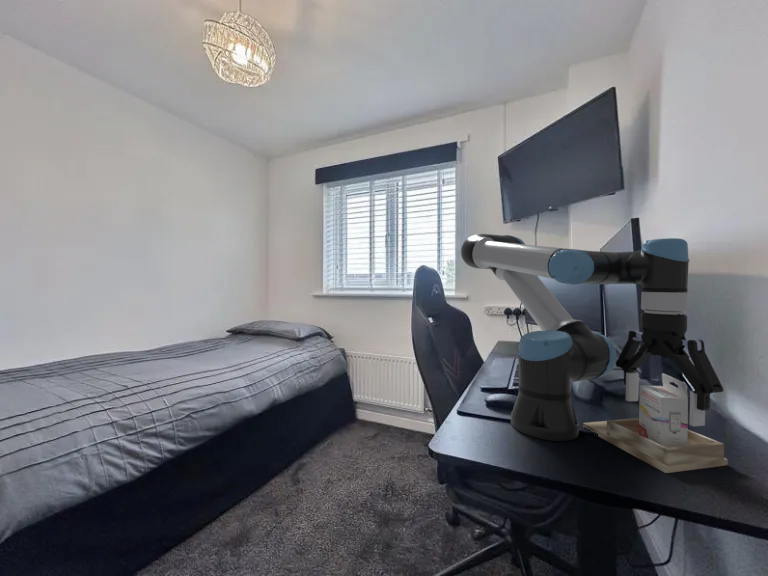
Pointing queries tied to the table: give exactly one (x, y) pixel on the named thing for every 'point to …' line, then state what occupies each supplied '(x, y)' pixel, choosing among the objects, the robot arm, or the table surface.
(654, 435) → the ink cartridge box
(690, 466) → the wooden tray
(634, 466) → the table surface
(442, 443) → the table surface
